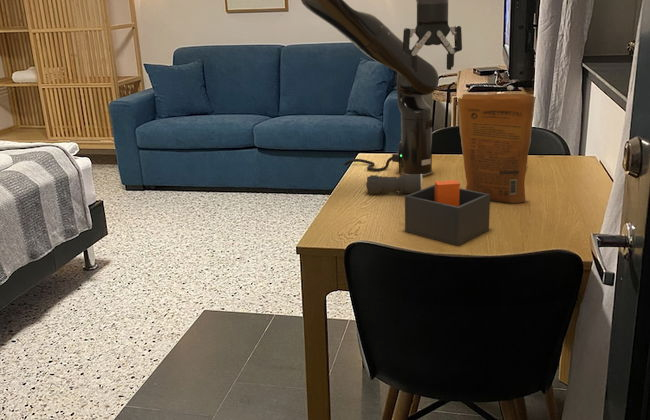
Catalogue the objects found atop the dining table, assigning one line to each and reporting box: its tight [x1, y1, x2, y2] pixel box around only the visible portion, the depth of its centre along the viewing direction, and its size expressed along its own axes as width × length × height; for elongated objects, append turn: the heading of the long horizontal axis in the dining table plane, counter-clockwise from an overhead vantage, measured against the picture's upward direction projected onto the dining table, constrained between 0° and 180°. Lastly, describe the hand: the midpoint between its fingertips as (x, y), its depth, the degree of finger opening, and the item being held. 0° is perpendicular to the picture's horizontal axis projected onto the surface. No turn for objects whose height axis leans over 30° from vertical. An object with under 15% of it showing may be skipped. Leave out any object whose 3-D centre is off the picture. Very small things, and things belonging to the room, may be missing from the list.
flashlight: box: [365, 174, 423, 195], centre depth 182 cm, size 15×5×5 cm, turn 83°
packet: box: [434, 179, 461, 207], centre depth 151 cm, size 5×3×11 cm, turn 94°
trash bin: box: [404, 184, 491, 246], centre depth 152 cm, size 15×13×9 cm
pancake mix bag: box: [456, 93, 536, 204], centre depth 169 cm, size 7×19×28 cm, turn 58°
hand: (432, 70), depth 164 cm, fingers open, 8 cm apart
